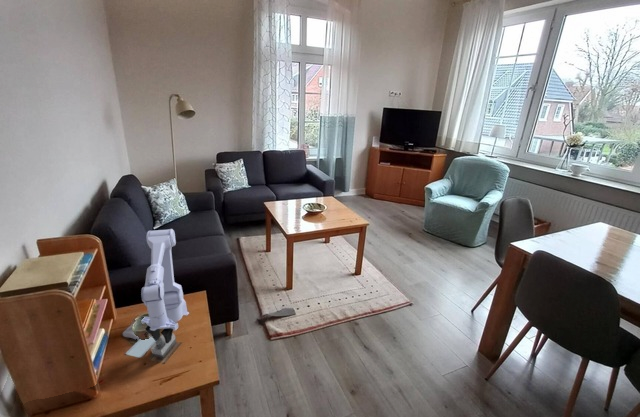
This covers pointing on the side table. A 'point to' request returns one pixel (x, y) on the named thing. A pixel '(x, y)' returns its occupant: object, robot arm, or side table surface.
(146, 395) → the side table surface
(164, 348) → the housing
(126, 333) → the stone block
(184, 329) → the side table surface
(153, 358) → the walnut stand
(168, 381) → the side table surface
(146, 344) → the bluegrey stand
